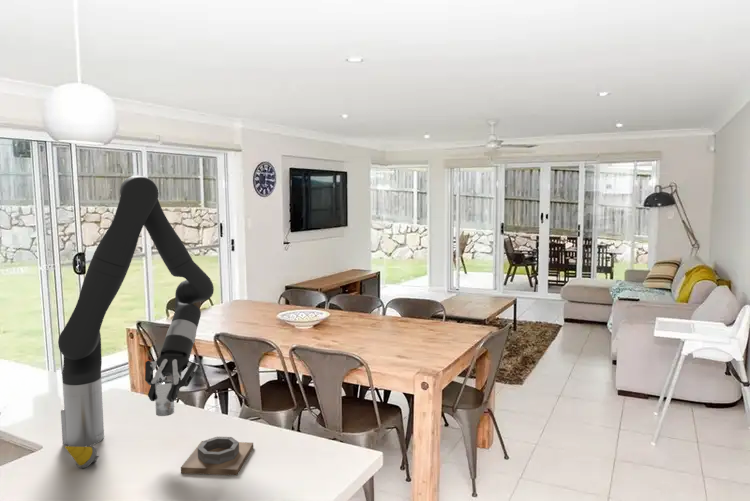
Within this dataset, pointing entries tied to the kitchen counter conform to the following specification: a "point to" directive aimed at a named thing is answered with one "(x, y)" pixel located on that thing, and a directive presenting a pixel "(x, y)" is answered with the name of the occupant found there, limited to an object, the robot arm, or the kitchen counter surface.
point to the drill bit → (83, 455)
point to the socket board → (218, 457)
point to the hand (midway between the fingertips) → (161, 400)
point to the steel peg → (163, 398)
